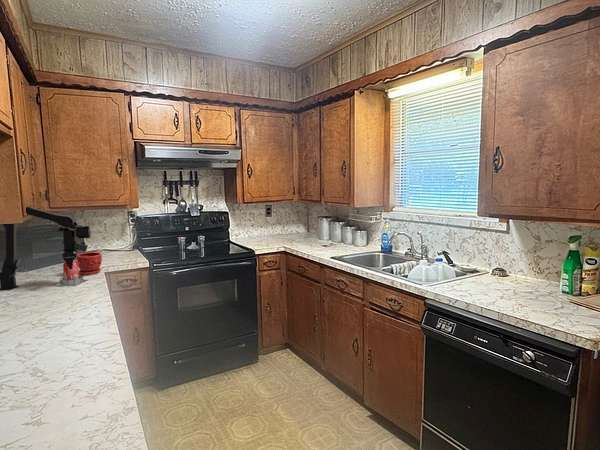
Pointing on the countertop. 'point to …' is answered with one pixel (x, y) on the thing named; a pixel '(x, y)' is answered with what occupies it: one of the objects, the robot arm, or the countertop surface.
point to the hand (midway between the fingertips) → (71, 267)
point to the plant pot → (89, 263)
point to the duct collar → (71, 281)
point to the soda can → (71, 271)
